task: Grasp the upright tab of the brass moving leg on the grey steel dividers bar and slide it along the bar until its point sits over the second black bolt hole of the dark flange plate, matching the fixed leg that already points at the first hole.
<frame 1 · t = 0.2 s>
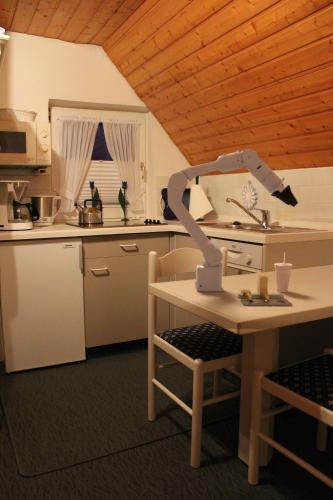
hand: (293, 204, 146), 31 cm above the table, tool tilted 45°, fingers open, 7 cm apart
moving leg: (264, 287, 137), point 4 cm above the table, slide at 0.0 cm
smoothie: (282, 291, 149), on the table
flange plate: (265, 303, 133), on the table
dividers bar: (260, 297, 140), on the table
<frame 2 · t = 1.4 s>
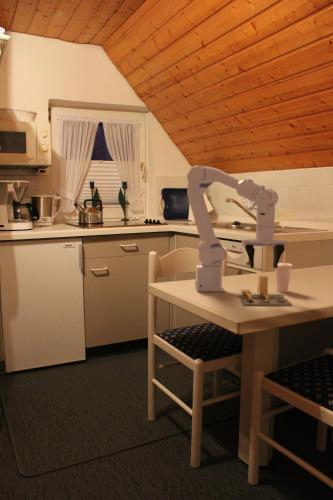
hand: (263, 267, 138), 10 cm above the table, tool pointing down, fingers open, 7 cm apart
nothing on the table moved.
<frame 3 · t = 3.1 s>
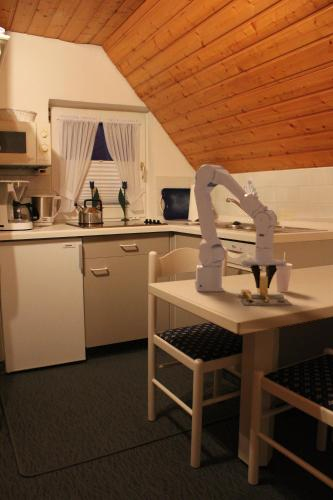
hand: (262, 287, 139), 3 cm above the table, tool pointing down, fingers closed on moving leg, 3 cm apart
moving leg: (264, 287, 137), point 4 cm above the table, slide at 0.0 cm, touching gripper
everything else where it was.
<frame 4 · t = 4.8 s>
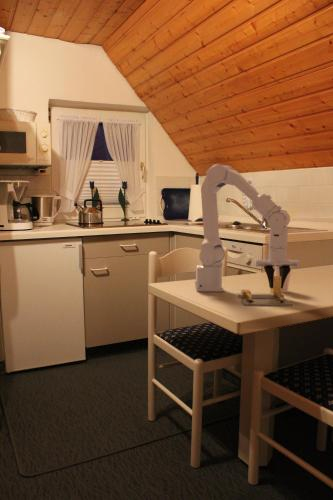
hand: (276, 287, 139), 3 cm above the table, tool pointing down, fingers closed on moving leg, 3 cm apart
moving leg: (278, 287, 137), point 4 cm above the table, slide at 4.5 cm, touching gripper
everything else where it was.
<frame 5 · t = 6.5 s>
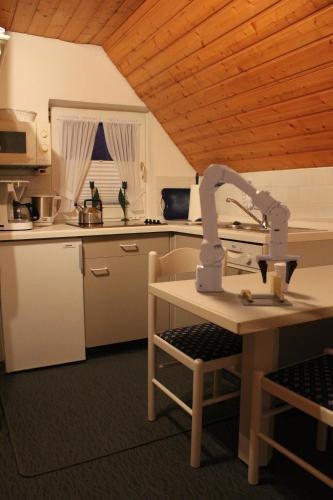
hand: (275, 283, 139), 5 cm above the table, tool pointing down, fingers open, 7 cm apart
moving leg: (278, 287, 137), point 4 cm above the table, slide at 4.5 cm
everything else where it was.
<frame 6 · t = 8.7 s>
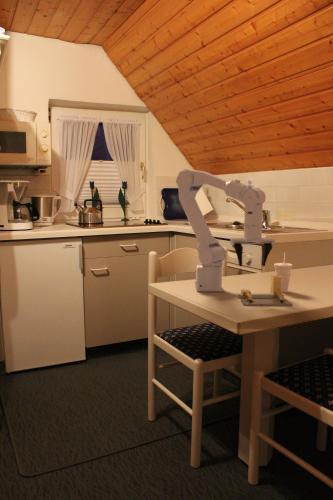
hand: (251, 265, 141), 10 cm above the table, tool pointing down, fingers open, 7 cm apart
nothing on the table moved.
at the end: moving leg slide at 4.5 cm; the gripper is holding nothing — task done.
